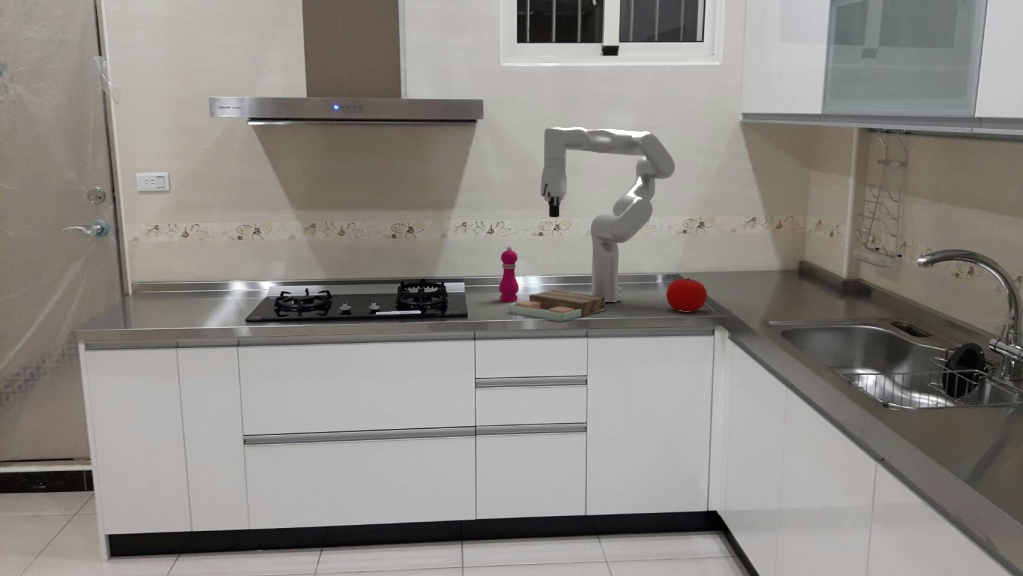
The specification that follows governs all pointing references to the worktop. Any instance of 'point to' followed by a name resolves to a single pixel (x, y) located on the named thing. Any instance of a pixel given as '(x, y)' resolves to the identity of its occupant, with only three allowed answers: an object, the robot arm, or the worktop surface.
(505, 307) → the worktop surface
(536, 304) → the tile
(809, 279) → the worktop surface
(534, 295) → the board
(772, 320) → the worktop surface
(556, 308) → the tile
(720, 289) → the worktop surface
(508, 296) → the pepper mill
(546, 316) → the tray
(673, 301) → the tomato
